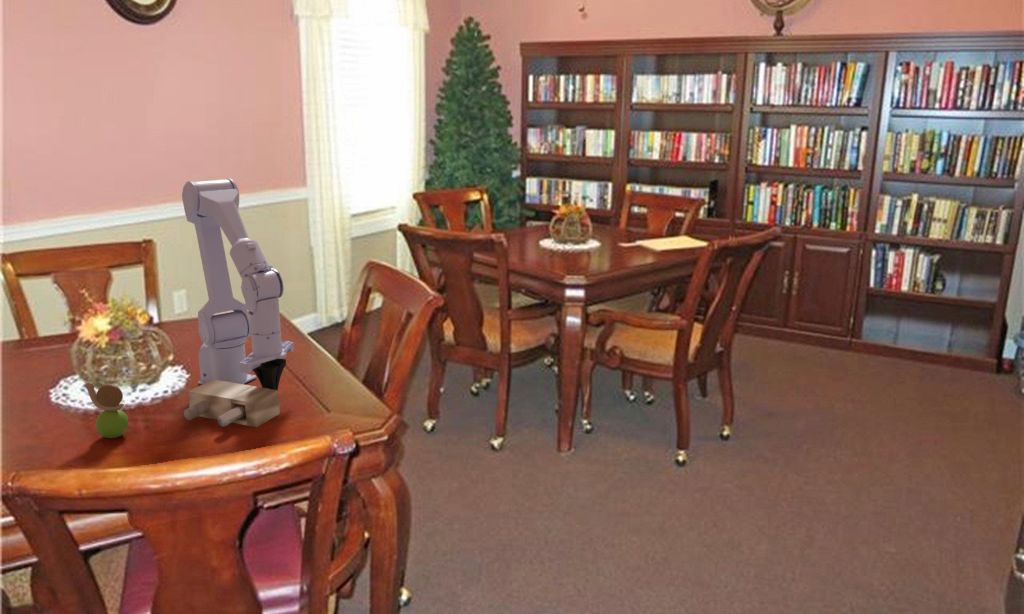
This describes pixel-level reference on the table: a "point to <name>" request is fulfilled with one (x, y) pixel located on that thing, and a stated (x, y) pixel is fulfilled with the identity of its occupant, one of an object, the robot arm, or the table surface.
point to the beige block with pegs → (233, 402)
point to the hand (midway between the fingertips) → (270, 394)
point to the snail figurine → (108, 410)
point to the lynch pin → (232, 415)
